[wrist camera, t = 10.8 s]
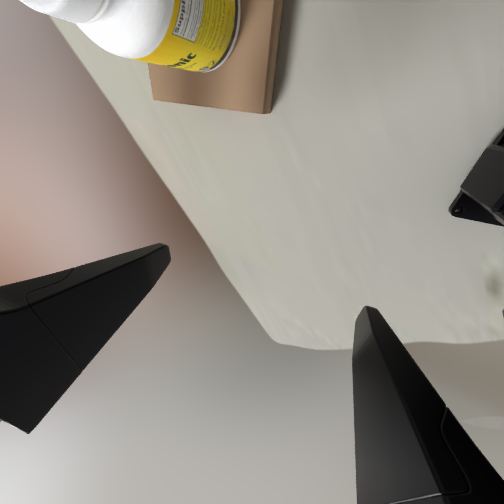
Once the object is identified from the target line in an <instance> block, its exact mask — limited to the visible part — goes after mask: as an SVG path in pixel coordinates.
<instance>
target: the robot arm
mask: <svg viewBox="0 0 504 504" xmlns="http://www.w3.org/2000/svg"><path fill="white" fill-rule="evenodd" d="M460 187H461V191H460V193H459V194H458V195H457V197H456V198H455V200H454V201H453V203H452V204H451V206H450V207H449V212H450V214H451V215H452V216H455V217H459V218H464V219H469V220H474V221H479V222H484V223H489V224H494V225H499V226H504V129H503V130H502V132H501V133H500V135H499V136H498V138H497V139H496V140H495V142H494V143H493V145H491V146H490V147H488V148H486V149H485V151H484V152H483V154H482V155H481V157H480V158H479V160H478V161H477V163H476V164H475V166H474V167H473V169H472V170H471V171H470V173H469V174H468V176H467V177H466V179H465V180H464V182H463V183H462V185H461V186H460ZM459 207H462V209H461V210H460V211H458V212H455V210H456V209H457V208H459ZM170 261H171V257H170V251H169V247H168V246H167V245H166V244H162V243H157V244H154V245H151V246H147V247H143V248H140V249H137V250H133V251H130V252H126V253H123V254H119V255H116V256H112V257H109V258H105V259H102V260H98V261H95V262H91V263H88V264H85V265H81V266H78V267H76V268H71V269H67V270H64V271H60V272H56V273H53V274H49V275H45V276H41V277H37V278H33V279H29V280H25V281H20V282H16V283H12V284H8V285H4V286H0V422H1V421H4V422H6V423H8V424H10V425H12V426H14V427H16V428H17V429H19V430H21V431H23V432H25V433H27V434H29V433H30V432H31V431H32V430H33V429H34V428H35V427H36V426H37V425H38V424H39V422H40V421H41V420H42V419H43V418H44V416H45V415H46V414H47V413H48V412H49V411H50V409H51V408H52V407H53V406H54V405H55V403H56V402H57V401H58V400H59V399H60V397H61V396H62V395H63V394H64V393H65V392H66V390H67V389H68V388H69V387H70V385H71V384H72V383H73V382H74V381H75V380H76V378H77V377H78V376H79V375H80V374H81V372H82V371H83V370H84V369H85V368H86V366H87V365H88V364H89V363H90V362H91V360H92V359H93V358H94V357H95V356H96V355H97V353H98V352H99V351H100V349H101V348H102V347H103V346H104V345H105V344H106V343H107V341H108V340H109V339H110V338H111V337H112V335H113V334H114V333H115V332H116V331H117V330H118V328H119V327H120V326H121V325H122V324H123V322H124V321H125V320H126V319H127V318H128V317H129V315H130V314H131V313H132V312H133V311H134V309H135V308H136V307H137V306H138V305H139V304H140V302H141V301H142V300H143V299H144V298H145V296H146V295H147V294H148V293H149V292H150V290H151V289H152V288H153V287H154V285H155V284H156V282H157V281H158V279H159V278H160V277H161V275H162V274H163V272H164V271H165V269H166V268H167V266H168V265H169V263H170ZM502 312H503V317H504V310H503V311H502ZM352 372H353V400H354V429H355V458H356V487H357V504H504V480H503V479H502V478H501V476H500V475H499V474H498V473H497V472H496V470H495V469H494V468H493V466H492V465H491V464H490V463H489V461H488V460H487V459H486V457H485V456H484V455H483V454H482V452H481V451H480V450H479V449H478V447H477V446H476V445H475V443H474V442H473V441H472V439H471V438H470V437H469V435H468V434H467V433H466V431H465V430H464V429H463V427H462V426H461V425H460V423H459V422H458V420H457V419H456V418H455V416H454V415H453V414H452V412H451V411H450V409H449V408H448V407H446V404H445V403H444V401H443V400H442V398H441V397H440V396H439V394H438V393H437V391H436V390H435V389H434V387H433V386H432V385H431V383H430V382H429V380H428V379H427V378H426V377H425V375H424V373H423V372H422V371H421V369H420V368H419V366H418V365H417V364H416V362H415V361H414V359H413V358H412V357H411V355H410V354H409V352H408V351H407V350H406V348H405V347H404V346H403V344H402V343H401V341H400V340H399V339H398V337H397V336H396V334H395V333H394V332H393V330H392V329H391V327H390V326H389V325H388V323H387V322H386V320H385V319H384V318H383V316H382V315H381V314H380V312H379V311H378V310H377V309H376V308H373V307H370V306H364V307H363V309H362V311H361V312H360V314H359V315H358V317H357V319H356V323H355V333H354V344H353V355H352Z"/></svg>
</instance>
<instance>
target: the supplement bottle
mask: <svg viewBox="0 0 504 504" xmlns="http://www.w3.org/2000/svg"><path fill="white" fill-rule="evenodd" d="M20 1H22V2H23V3H24V4H26V5H27V6H29V7H31V8H32V9H34V10H36V11H39V12H42V13H45V14H48V15H51V16H54V17H57V18H61V19H63V20H66V21H69V22H73V23H76V24H77V25H78V27H79V28H80V29H81V30H82V31H83V32H84V33H85V34H86V35H87V36H88V37H89V38H90V39H91V40H92V41H93V42H95V43H96V44H97V45H99V46H100V47H101V48H103V49H105V50H106V51H108V52H110V53H113V54H115V55H118V56H122V57H125V58H129V59H134V60H139V61H144V62H148V63H153V64H158V65H163V66H169V67H173V68H179V69H184V70H190V71H194V72H209V71H212V70H215V69H217V68H218V67H220V66H221V65H222V64H223V63H224V62H225V61H226V60H227V58H228V57H229V55H230V53H231V52H232V50H233V47H234V45H235V42H236V39H237V36H238V31H239V25H240V12H241V9H240V0H20Z"/></svg>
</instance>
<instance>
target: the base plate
mask: <svg viewBox="0 0 504 504" xmlns="http://www.w3.org/2000/svg"><path fill="white" fill-rule="evenodd" d="M240 9H241V12H240V25H239V31H238V36H237V39H236V42H235V45H234V47H233V50H232V52H231V53H230V55H229V57H228V58H227V60H226V61H225V62H224V63H223V64H222V65H221V66H220V67H218V68H217V69H215V70H212V71H209V72H194V71H190V70H184V69H179V68H173V67H169V66H163V65H158V64H153V63H148V67H149V74H150V80H151V87H152V93H153V100H157V101H165V102H173V103H180V104H188V105H196V106H204V107H211V108H219V109H227V110H235V111H243V112H250V113H258V114H268V113H270V112H271V103H272V95H273V86H274V78H275V69H276V60H277V52H278V43H279V34H280V26H281V17H282V9H283V0H240Z"/></svg>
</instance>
